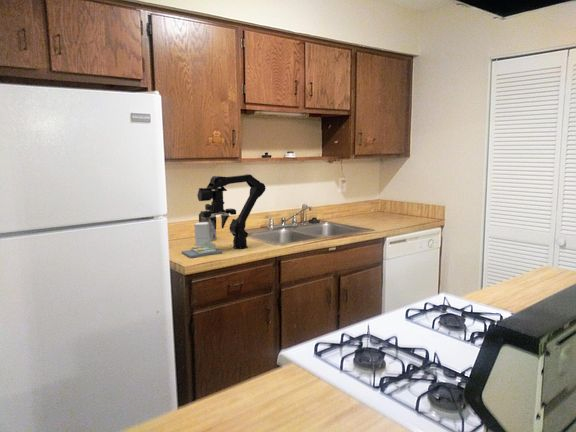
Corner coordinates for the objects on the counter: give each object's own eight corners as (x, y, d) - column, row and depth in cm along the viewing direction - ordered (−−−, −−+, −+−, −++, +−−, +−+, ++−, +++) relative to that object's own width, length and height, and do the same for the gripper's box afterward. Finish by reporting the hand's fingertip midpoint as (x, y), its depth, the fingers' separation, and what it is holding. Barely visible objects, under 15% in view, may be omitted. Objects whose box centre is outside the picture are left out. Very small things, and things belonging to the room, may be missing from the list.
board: (212, 248, 233) (212, 242, 232) (222, 253, 222) (222, 246, 221) (181, 253, 223) (181, 246, 223) (190, 258, 212) (190, 251, 212)
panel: (206, 247, 230) (206, 240, 230) (215, 251, 220) (215, 244, 220) (190, 249, 225) (190, 242, 225) (199, 254, 215) (199, 246, 215)
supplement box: (210, 243, 248) (209, 221, 246) (208, 245, 240) (207, 224, 238) (197, 243, 247) (196, 222, 245) (195, 246, 240) (194, 224, 238)
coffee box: (199, 239, 258) (197, 213, 255) (207, 238, 263) (206, 212, 260) (209, 241, 252) (208, 215, 250) (217, 239, 257) (216, 213, 254)
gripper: (227, 197, 236) (228, 224, 238) (195, 199, 226) (196, 228, 228) (236, 199, 227) (237, 227, 229) (203, 201, 216) (204, 231, 219)
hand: (218, 228), depth 226 cm, fingers open, 4 cm apart
